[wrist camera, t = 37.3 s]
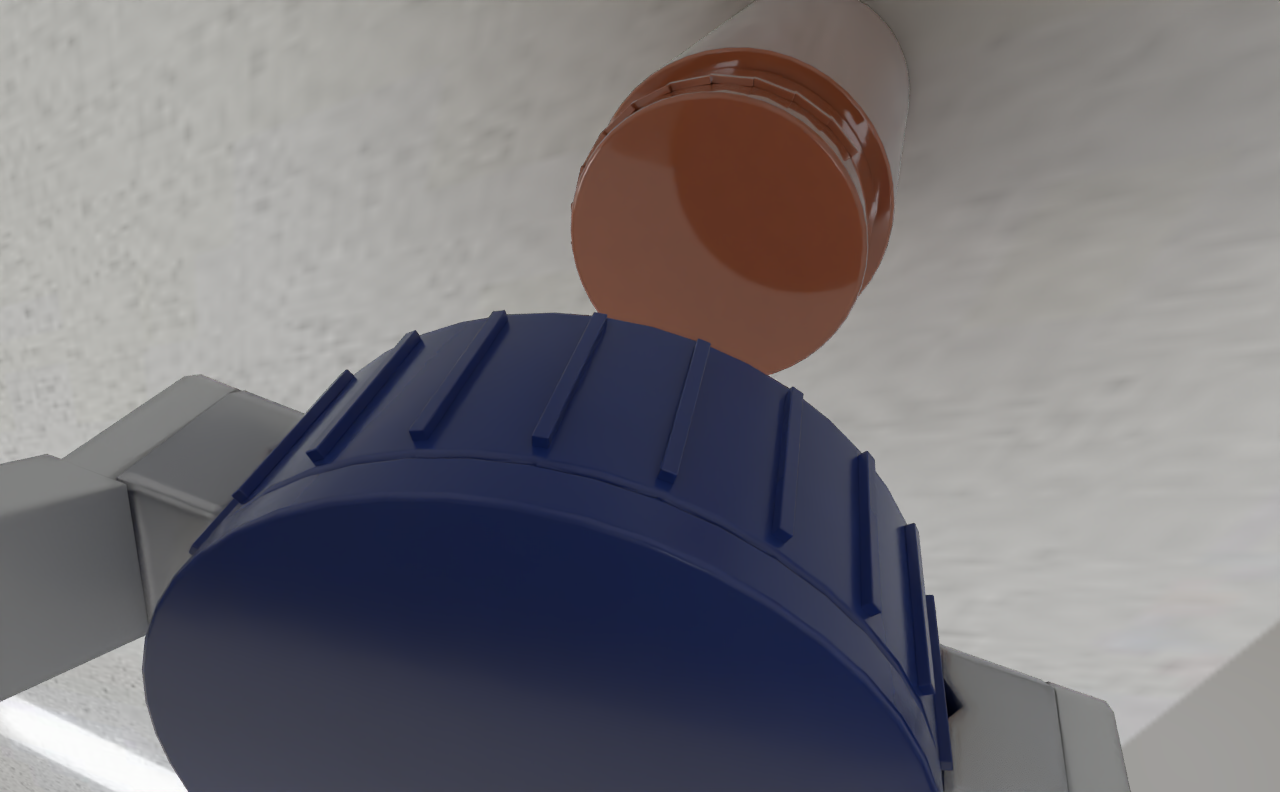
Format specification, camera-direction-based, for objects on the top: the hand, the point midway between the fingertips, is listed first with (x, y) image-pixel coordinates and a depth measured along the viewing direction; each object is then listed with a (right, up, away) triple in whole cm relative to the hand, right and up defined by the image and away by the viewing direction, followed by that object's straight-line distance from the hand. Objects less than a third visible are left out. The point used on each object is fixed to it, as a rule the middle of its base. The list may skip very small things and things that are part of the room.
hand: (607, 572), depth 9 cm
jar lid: (0, -1, -2) cm, 2 cm away
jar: (+5, +9, +14) cm, 18 cm away
